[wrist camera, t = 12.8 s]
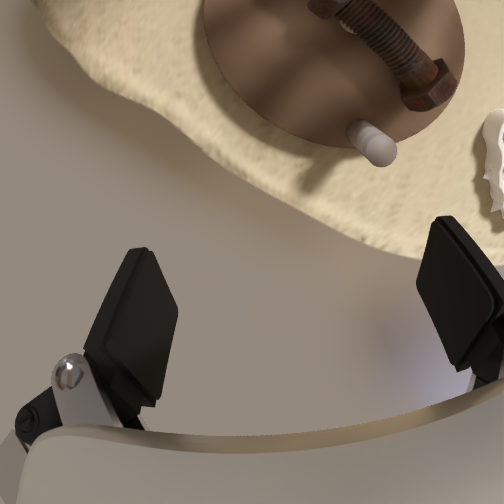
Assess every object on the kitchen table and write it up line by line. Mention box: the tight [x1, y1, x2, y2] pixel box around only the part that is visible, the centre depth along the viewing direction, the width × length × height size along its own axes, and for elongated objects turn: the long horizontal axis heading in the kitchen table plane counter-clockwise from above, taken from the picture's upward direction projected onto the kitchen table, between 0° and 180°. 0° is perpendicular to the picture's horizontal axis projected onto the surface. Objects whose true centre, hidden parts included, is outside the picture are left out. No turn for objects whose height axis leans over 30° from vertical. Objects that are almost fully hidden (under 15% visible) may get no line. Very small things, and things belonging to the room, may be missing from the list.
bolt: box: [307, 0, 458, 112], centre depth 14 cm, size 6×5×15 cm
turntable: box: [203, 0, 465, 167], centre depth 14 cm, size 23×23×6 cm
